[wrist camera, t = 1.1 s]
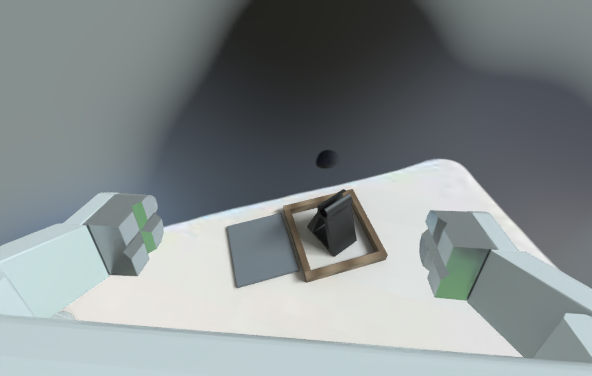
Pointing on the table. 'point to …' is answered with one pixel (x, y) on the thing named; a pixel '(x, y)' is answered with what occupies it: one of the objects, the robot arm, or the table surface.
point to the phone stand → (334, 223)
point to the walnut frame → (342, 266)
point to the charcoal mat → (261, 250)
